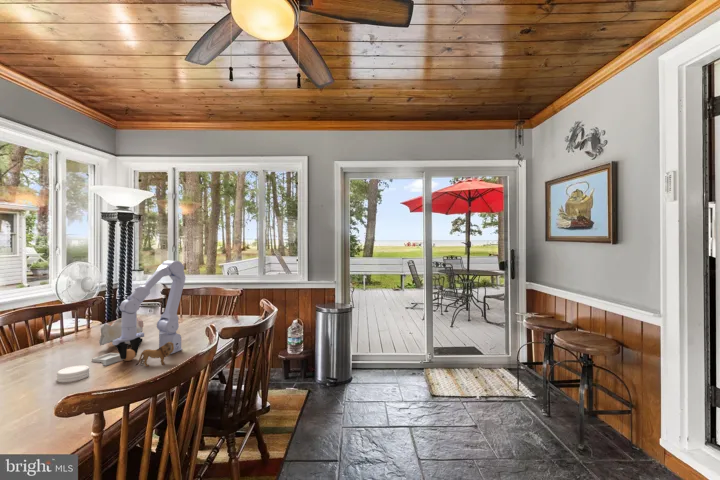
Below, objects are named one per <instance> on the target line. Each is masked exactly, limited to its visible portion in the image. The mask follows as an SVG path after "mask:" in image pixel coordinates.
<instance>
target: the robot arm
mask: <svg viewBox="0 0 720 480" xmlns="http://www.w3.org/2000/svg"><path fill="white" fill-rule="evenodd" d="M168 276H169V277H170V279H171V280H172V281H171V286H170V289H169V293H168V297H167V302H166V304H165V305H166V306H165V309H164V312H163V313H162V314H161V315H160V317H159V319H158V321H157V323H156V328H157V330H158V332H159V334H158V335H159V336H158V339H159V340H158V349H159V348H160V347H161V346H163V345H165V344H166V343H168V342H172V343H174V344H173V345H174V350H173V352H172V353H171V354H170V355H172V354H175V353H177V352H180V351H182V350H183V348H182V336H181V334H180V333H177V331H178V329H179V326H180V325H179V319H180V318H179V316H178V311H179V307H180V302H181V298H182V293H183V289H184V286H185V283H186V274H185V266H184V264H183V263H182V262H181V261H179V260H169V259H167V260H163V262H161V264H160V265H158V267H157V269H156V270H155V271H154V272H153V274H152V275H150V277H149V278H148V280H147V281H146V282H145V283H144V284H143V285H138V286H136V287H135V288H134V291H133V292H132V293H131V294H130V295H128V296H126V299H125V300H122V302H121V303H120V305H119V306H118V308H119V311H121V318H122V326H121V327H122V329H121V336H120V338H118V339H115V340H113V342H111V343H112V345H113V346H114V347H115V348H116V349H117V351H118V352H117V353H118V354H120V357H121V359H126V352H127V350H128V347H129V344H126V343H125V342H127V341H130V349H132V350H134V351H135V355H136V356H137V354H138V352H139V348H140V345H141V344H142V342H143V338H144V337H145V332H143V331H142V332H141V333H137V318H138V315H137V313H138V311H139V309H140V306H141V304H142V303H143V302H144V301H145V299H146V298H148V296H150V294H151V289H152V288H153V287H155V286H156V285H157V284H158V282H159V281H161V280H162V278H164V277H168ZM140 337H141V338H140Z"/></svg>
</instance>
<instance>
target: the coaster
mask: <svg viewBox="0 0 720 480" xmlns="http://www.w3.org/2000/svg"><path fill="white" fill-rule="evenodd" d="M89 376H90V367H89V366H88V365H73V366H67V367H64V368H62V369H60V370H58V371H57V372H56V382H58V383H71V382H78V381H80V380H84V379H86V378H88V377H89Z"/></svg>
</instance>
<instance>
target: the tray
mask: <svg viewBox="0 0 720 480" xmlns="http://www.w3.org/2000/svg"><path fill="white" fill-rule="evenodd" d="M116 355H119V352H109V353H106V354H102V355H100V356H96V357H93V358H92V357H91V362H93V363H100V362H101V364H104V359H107V358H110V357H113V356H116Z"/></svg>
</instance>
